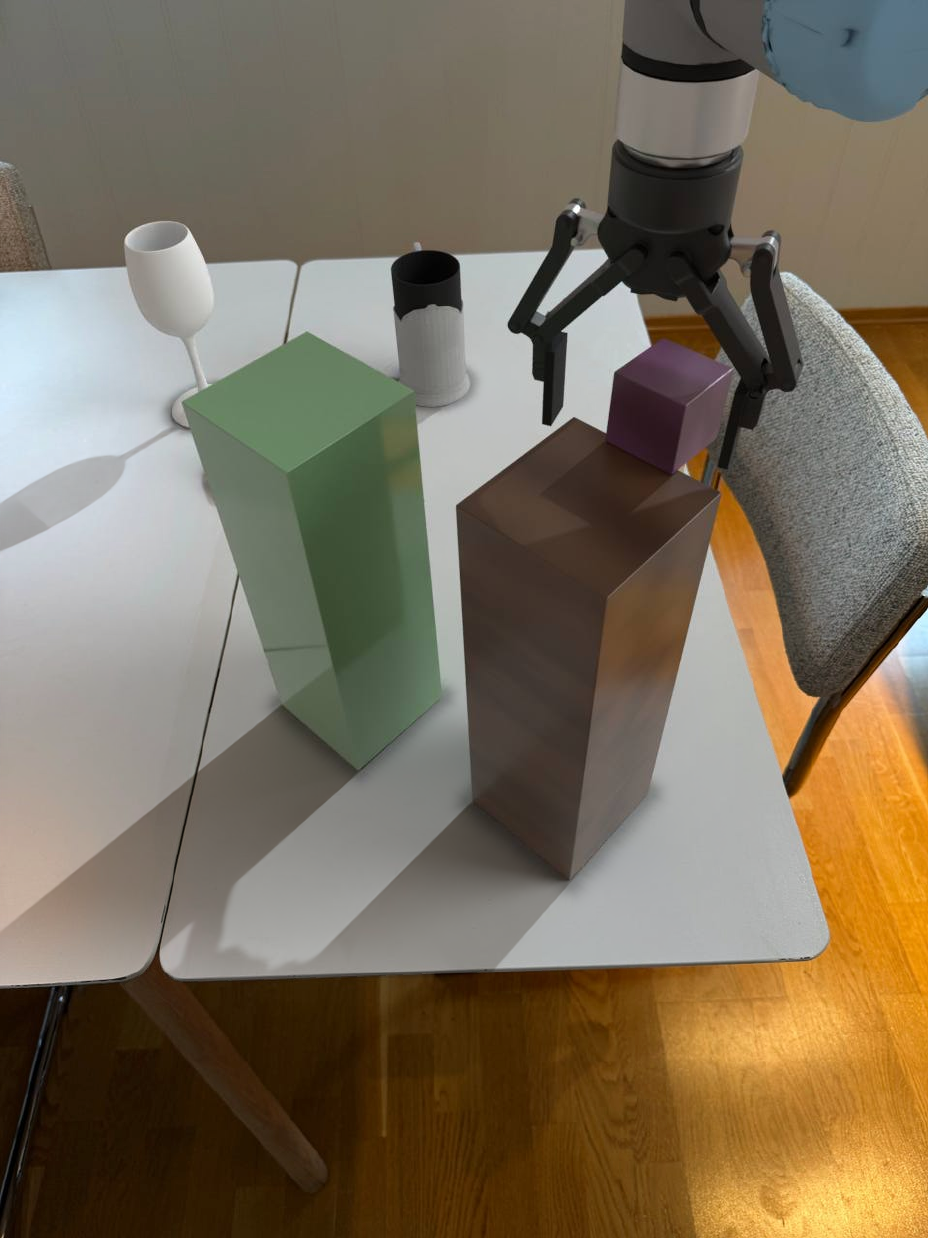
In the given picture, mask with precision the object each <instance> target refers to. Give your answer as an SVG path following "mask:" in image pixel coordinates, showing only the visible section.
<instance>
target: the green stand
mask: <svg viewBox="0 0 928 1238" xmlns="http://www.w3.org/2000/svg"><path fill="white" fill-rule="evenodd" d="M398 381H399V380H398ZM398 381H397V380H396V379H394V378H392V377H391V376H389V375H387V374H385V373H383V372H381V371H380V370H378V369H376V368H374V367H373V366H370V365H369V364H367V363H365V362H364V361H362V360H360V359H358V358H356V357H354V356H353V355H351V354H349V353H347V352H345V351H343V350H341V349H340V348H338V347H336V346H334V345H333V344H331V343H329V342H328V341H326V340H324V339H322V338H320V337H318V336H317V335H314V334H313V333H311V332H310V331H305V332H303V333H302V334H299V335H298V336H296V337H294V338H292V339H291V340H289V341H287V342H285V343H283V344H282V345H280V346H278V347H276V348H274V349H273V350H271V351H269V352H267V353H265V354H263V355H262V356H260V357H258V358H257V359H254V360H253V361H251V362H249V363H248V364H246V365H244V366H242V367H241V368H238V369H237V370H236V371H233V372H232V373H230V374H228V375H226V376H224V377H223V378H221V379H219V380H218V381H215V382H214V383H211V384H212V385H210V386H209V387H207V388H205V389H203V390H201V391H200V392H198V393H196V394H194V395H192V396H191V397H189V398H187V399H185V400H184V401H182V402H181V403H182V406H183V409H184V412H185V415H186V418H187V421H188V424H189V427H190V428H189V430H190V433H191V437H192V439H193V442H194V444H195V445H194V446H195V447H196V451H197V454H198V457H199V460H200V462H201V465H202V468H203V472H204V476H205V478H206V481H207V483H208V487H209V490H210V493H211V496H212V499H213V502H214V505H215V508H216V511H217V514H218V517H219V520H220V523H221V526H222V529H223V532H224V535H225V538H226V542H227V544H228V547H229V550H230V552H231V556H232V560H233V563H234V565H235V569H236V571H237V574H238V577H239V580H240V583H241V586H242V590H243V592H244V595H245V598H246V601H247V604H248V607H249V610H250V614H251V617H252V618H253V623H254V625H255V628H256V631H257V634H258V637H259V641H260V643H261V645H262V650H263V652H264V655H265V659H266V661H267V664H268V667H269V670H270V673H271V676H272V681H273V682H274V686H275V689H276V692H277V695H278V698H279V701H280V705H282V706H283V707H284V708H285V709H286V710H287V711H288V712H290V714H292V715H293V716H295V718H296V719H298V720H299V721H300V722H301V723H302V724H304V725H305V726H306V727H307V728H308V729H309V730H310V731H312V732H313V733H314V734H315V735H316V736H317V737H319V739H321V740H322V742H324V743H325V744H327V745H328V746H329V747H330V748H332V750H333V751H335V752H336V753H337V754H338V755H339V756H340V757H342V758H343V759H344V761H346V762H347V763H348V764H349V765H351V767H353V768H354V769H356V771H360V770H361V769H362V768H364V767H365V766H366V765H367V764H368V763H369V762H370V761H372V760H373V759H374V758H375V757H376V756H378V754H379V753H380V752H381V751H383V750H384V749H385V748H386V747H387V746H388V745H390V744H391V743H392V742H394V740H395V739H396V738H397V737H399V736H400V735H401V734H402V733H403V732H404V731H406V729H408V728H409V727H410V726H411V725H413V723H414V722H416V721H417V720H418V719H419V718H420V717H421V716H422V715H423V714H425V713H426V712H427V711H428V710H429V709H431V708H432V707H433V706H434V705H435V704H436V703H438V702H439V700H441V699H442V698H443V690H442V689H443V688H442V678H441V668H440V659H439V649H438V648H439V646H438V636H437V625H436V614H435V602H434V593H433V582H432V581H433V580H432V572H431V571H432V570H431V560H430V559H431V558H430V548H429V538H428V527H427V517H426V516H427V515H426V505H425V495H424V484H423V473H422V464H421V463H422V461H421V452H420V441H419V440H420V439H419V430H418V419H417V409H416V405H415V396H414V390H412V389H410V388H408V387H407V386H405V385H403V384H401V383H399V382H398Z"/></svg>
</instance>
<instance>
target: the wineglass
mask: <svg viewBox="0 0 928 1238" xmlns="http://www.w3.org/2000/svg"><path fill="white" fill-rule="evenodd" d="M123 248H124V260H125V266H126V267H125V268H126V274H127V277H128V281H129V286H130V289H131V293H132V295H133V297H134V300H135V303H136V305H137V308H138V309H139V312H140V313H141V315H142V317H143V318H144V320H146V321H147V323H148V324H149V325H150V326H151V327H153V328H154V329H155V330H156V331H159V332H160V333H163V334H164V335H167V336H170V337H174V338H175V337H176V338H179V339H180V340H181V341H182V343H183V345H184V347H185V350H186V352H187V354H188V355H187V356H188V357H189V361H190V364H191V366H192V370H193V375H194V379H195V382H196V386H195V387H193V388H190V389H189V390H186V391H185V392H183V393H182V394H181V395H180V396H178V398H177V399H175V401H174V403H173V405H172V408H171V416H172V418H173V419H174V421H175V422H176V423H178V424H179V425H180V426H182V427H185V428H188V429H190V427H189V424H188V421H187V418H186V415H185V412H184V409H183V406H182V403H181V402H182V401H184V400H185V399H187V398H189V397H191V396H192V395H194V394H196V393H198V392H200V391H201V390H203V389H205V388H207V387H209V386H210V385H212V384H213V383H208V382H207V379H206V376H205V374H204V370H203V367H202V365H201V362H200V358H199V355H198V350H197V347H196V342H195V335H196V334H197V333H198V332H200V331H201V330H202V329H203V328H204V327H205V326H206V325H207V323H208V322H209V320H210V318H211V316H212V312H213V310H214V306H215V295H214V288H213V284H212V280H211V275H210V272H209V269H208V266H207V264H206V260H205V259H204V256H203V254H202V252H201V250H200V247H199V245H198V244H197V242H196V239H195V238H194V235H193V234H192V232H191V231H190V229H189V228H188V227H187V226H186V225H185V224H183V223H181V222H177V221H170V220H159V221H152V222H148V223H144V224H142V225H140V226H137V227H135V228H133V229H132V230H131V231H129V232H128V233H127V235H126V236H125V237H124V241H123Z"/></svg>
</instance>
